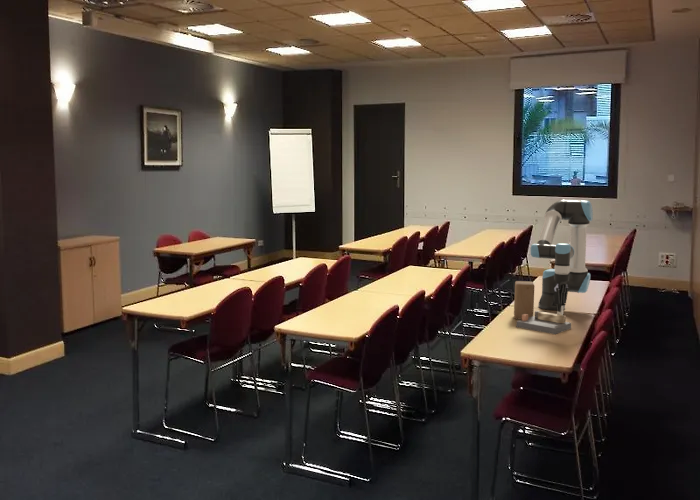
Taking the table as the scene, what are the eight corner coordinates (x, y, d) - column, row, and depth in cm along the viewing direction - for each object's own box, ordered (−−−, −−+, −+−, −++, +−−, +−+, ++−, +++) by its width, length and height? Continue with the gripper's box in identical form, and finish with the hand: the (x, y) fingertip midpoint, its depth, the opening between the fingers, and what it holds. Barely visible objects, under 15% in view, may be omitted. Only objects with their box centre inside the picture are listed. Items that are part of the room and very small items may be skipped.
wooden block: (533, 320, 362) (534, 284, 359) (514, 319, 364) (515, 283, 361) (532, 316, 372) (533, 281, 369) (513, 315, 374) (515, 280, 371)
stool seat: (532, 321, 359) (533, 310, 359) (570, 328, 344) (571, 317, 343) (516, 326, 347) (516, 315, 346) (555, 334, 332) (555, 322, 331)
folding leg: (533, 318, 352) (533, 311, 352) (536, 317, 355) (536, 310, 354) (562, 323, 341) (562, 316, 340) (565, 322, 343) (565, 315, 343)
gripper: (561, 271, 351) (559, 314, 354) (548, 273, 342) (547, 318, 345) (574, 272, 346) (572, 316, 349) (562, 275, 337) (560, 320, 340)
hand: (559, 317), depth 347 cm, fingers closed
